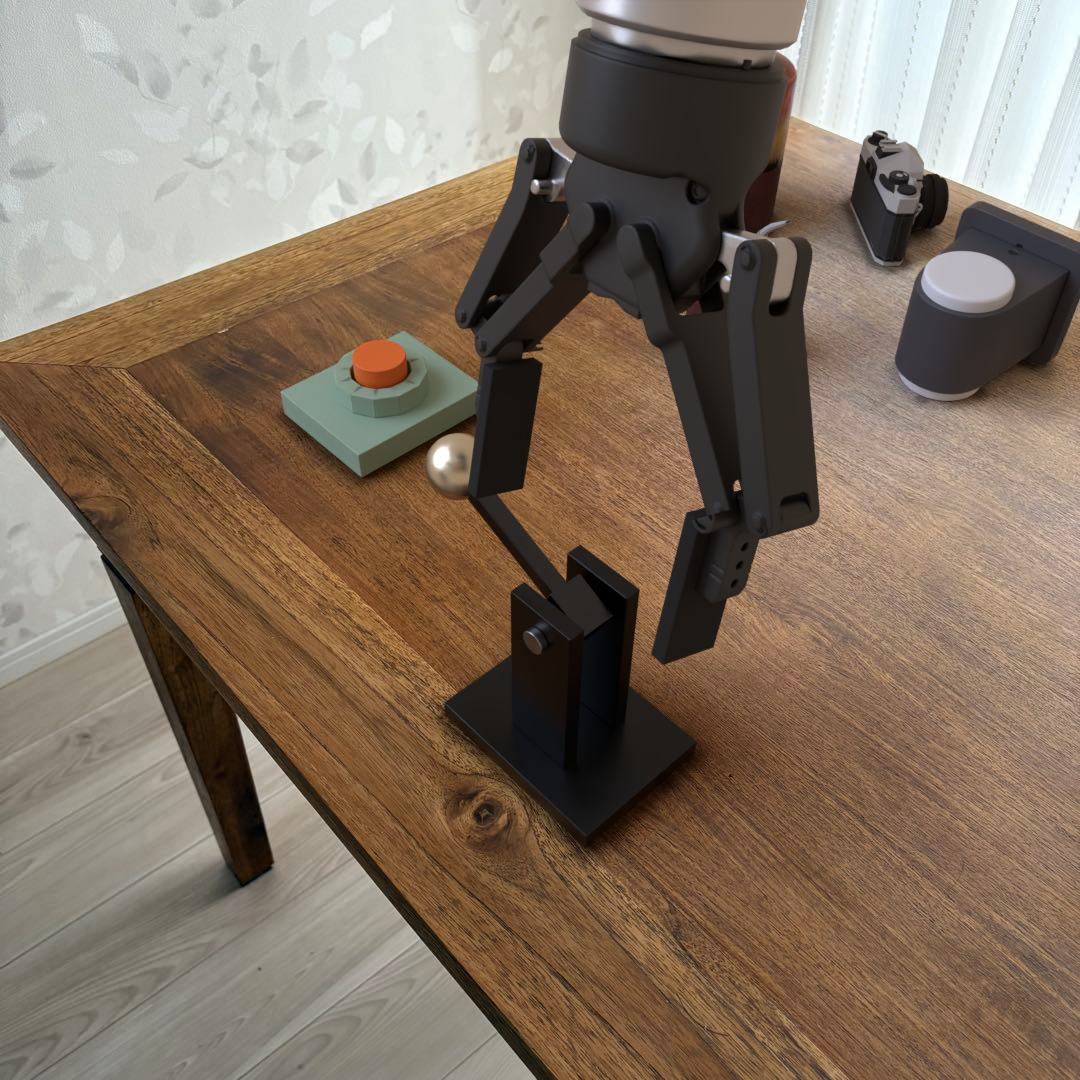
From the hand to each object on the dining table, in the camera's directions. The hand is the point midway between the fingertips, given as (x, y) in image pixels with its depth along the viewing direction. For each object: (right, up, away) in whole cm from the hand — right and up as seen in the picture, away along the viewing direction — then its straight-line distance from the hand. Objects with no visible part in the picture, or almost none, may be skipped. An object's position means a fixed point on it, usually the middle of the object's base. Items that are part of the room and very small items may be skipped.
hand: (580, 564), depth 48 cm
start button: (-14, +14, +36) cm, 41 cm away
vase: (+15, +32, +60) cm, 70 cm away
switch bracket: (0, -11, +17) cm, 20 cm away
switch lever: (-4, 0, +12) cm, 12 cm away
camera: (+32, +31, +58) cm, 73 cm away
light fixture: (+32, +15, +43) cm, 56 cm away
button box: (-14, +11, +38) cm, 42 cm away
